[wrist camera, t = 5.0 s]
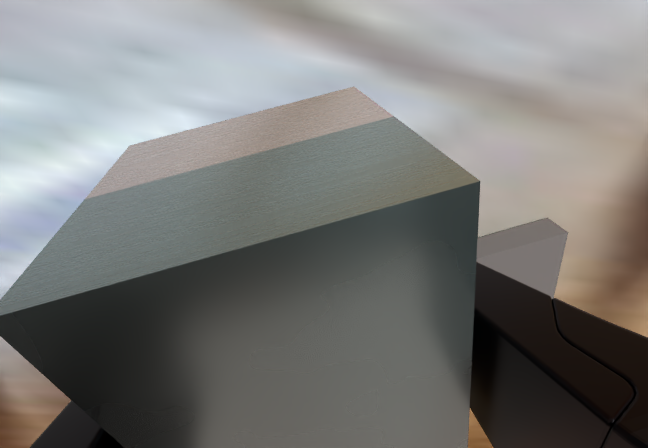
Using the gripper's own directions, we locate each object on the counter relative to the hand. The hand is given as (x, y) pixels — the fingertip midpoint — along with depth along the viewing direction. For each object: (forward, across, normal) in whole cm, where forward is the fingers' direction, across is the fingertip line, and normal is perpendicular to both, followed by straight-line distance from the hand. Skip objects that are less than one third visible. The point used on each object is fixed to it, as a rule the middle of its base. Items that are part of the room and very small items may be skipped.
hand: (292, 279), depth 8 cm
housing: (+2, 0, 0) cm, 2 cm away
